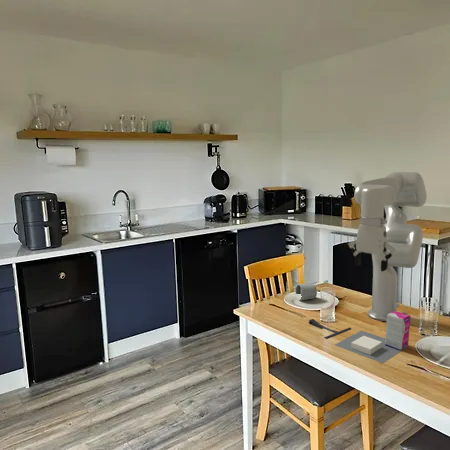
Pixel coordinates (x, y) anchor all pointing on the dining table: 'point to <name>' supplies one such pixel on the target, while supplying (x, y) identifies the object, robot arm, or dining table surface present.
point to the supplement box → (397, 330)
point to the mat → (379, 355)
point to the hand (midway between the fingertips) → (370, 268)
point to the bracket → (327, 328)
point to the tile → (366, 345)
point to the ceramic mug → (306, 291)
